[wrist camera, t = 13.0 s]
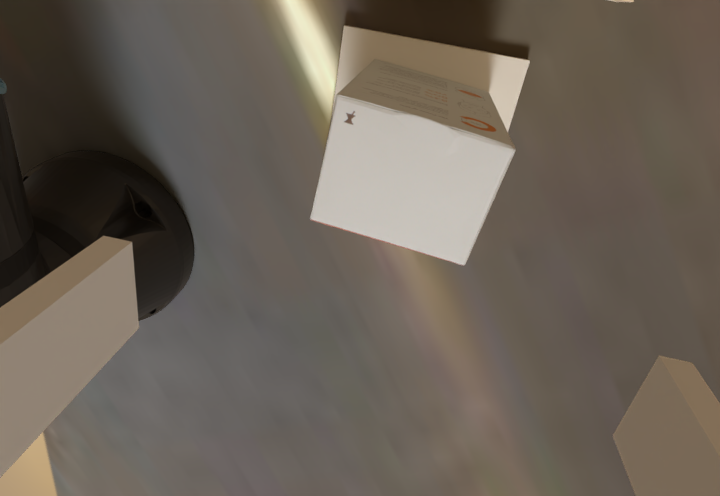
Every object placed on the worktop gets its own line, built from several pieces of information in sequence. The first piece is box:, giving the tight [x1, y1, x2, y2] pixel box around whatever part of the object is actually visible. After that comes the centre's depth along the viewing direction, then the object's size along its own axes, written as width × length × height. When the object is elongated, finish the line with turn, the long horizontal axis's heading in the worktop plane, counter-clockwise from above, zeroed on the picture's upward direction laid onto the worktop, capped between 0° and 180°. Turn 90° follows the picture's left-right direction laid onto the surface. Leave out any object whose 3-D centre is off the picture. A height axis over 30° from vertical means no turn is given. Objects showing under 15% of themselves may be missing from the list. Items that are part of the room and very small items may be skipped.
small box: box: [310, 59, 516, 266], centre depth 28 cm, size 8×6×13 cm
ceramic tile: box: [332, 25, 530, 132], centre depth 34 cm, size 12×10×1 cm
